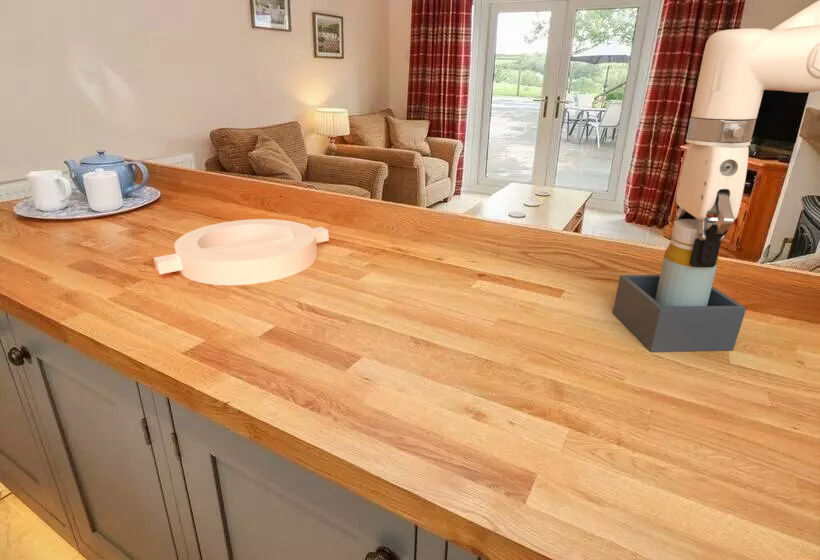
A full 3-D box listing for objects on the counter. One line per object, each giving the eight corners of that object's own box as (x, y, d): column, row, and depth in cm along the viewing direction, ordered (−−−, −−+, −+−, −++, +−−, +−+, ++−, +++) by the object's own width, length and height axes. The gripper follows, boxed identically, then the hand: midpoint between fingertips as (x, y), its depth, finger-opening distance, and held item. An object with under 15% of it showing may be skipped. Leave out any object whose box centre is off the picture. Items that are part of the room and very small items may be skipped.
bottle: (675, 330, 73) (697, 233, 67) (642, 310, 79) (660, 220, 73) (713, 324, 74) (738, 229, 68) (678, 305, 80) (698, 216, 75)
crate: (684, 311, 84) (694, 274, 81) (733, 350, 72) (746, 307, 69) (612, 313, 83) (619, 274, 80) (650, 352, 71) (660, 309, 69)
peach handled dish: (332, 241, 115) (331, 222, 113) (289, 290, 90) (287, 265, 88) (220, 235, 119) (217, 216, 117) (148, 280, 93) (143, 256, 91)
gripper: (786, 140, 57) (747, 280, 64) (720, 126, 73) (694, 239, 80) (718, 140, 58) (686, 278, 65) (667, 125, 74) (646, 238, 81)
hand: (691, 256), depth 73 cm, fingers closed on bottle, 7 cm apart
